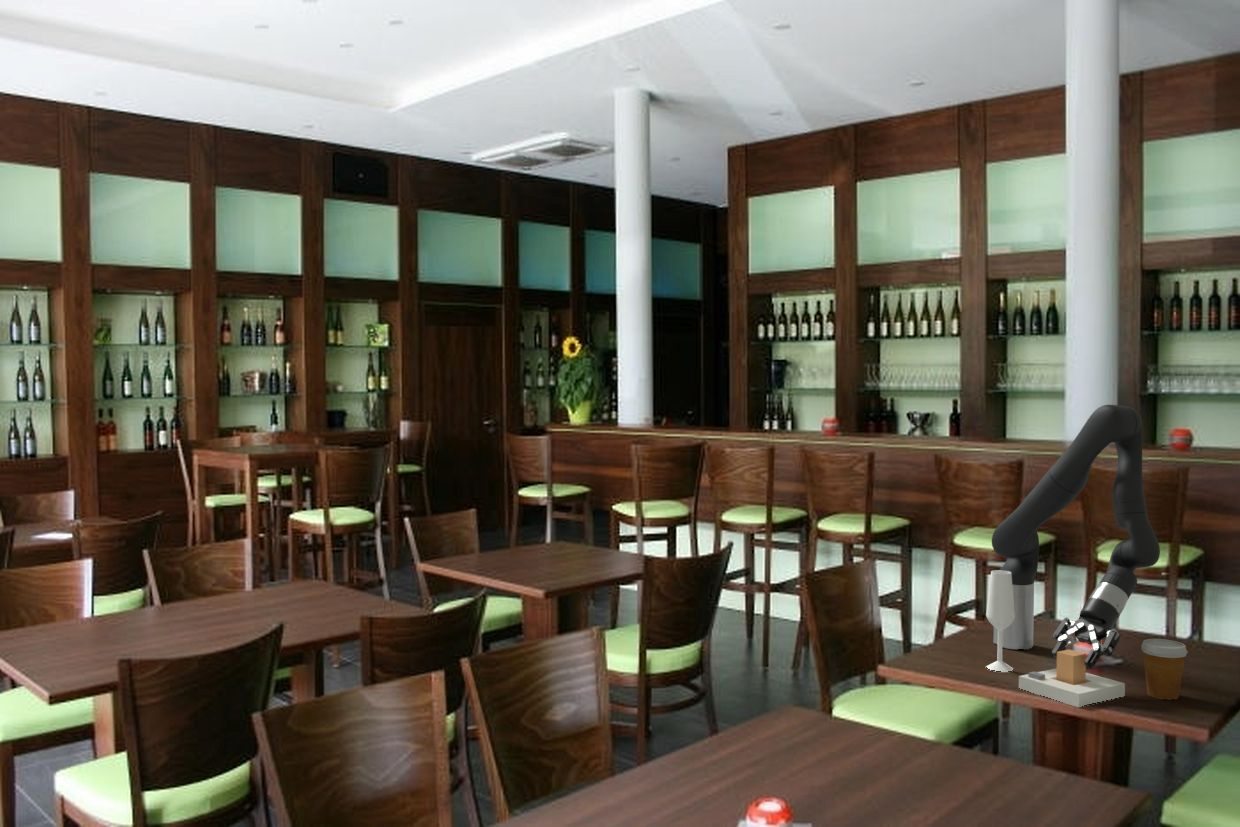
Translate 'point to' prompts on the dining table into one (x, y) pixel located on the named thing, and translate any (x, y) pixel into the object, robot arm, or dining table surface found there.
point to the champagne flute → (1000, 611)
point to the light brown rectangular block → (1071, 667)
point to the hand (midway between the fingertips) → (1070, 661)
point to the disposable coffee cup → (1163, 667)
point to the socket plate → (1072, 688)
